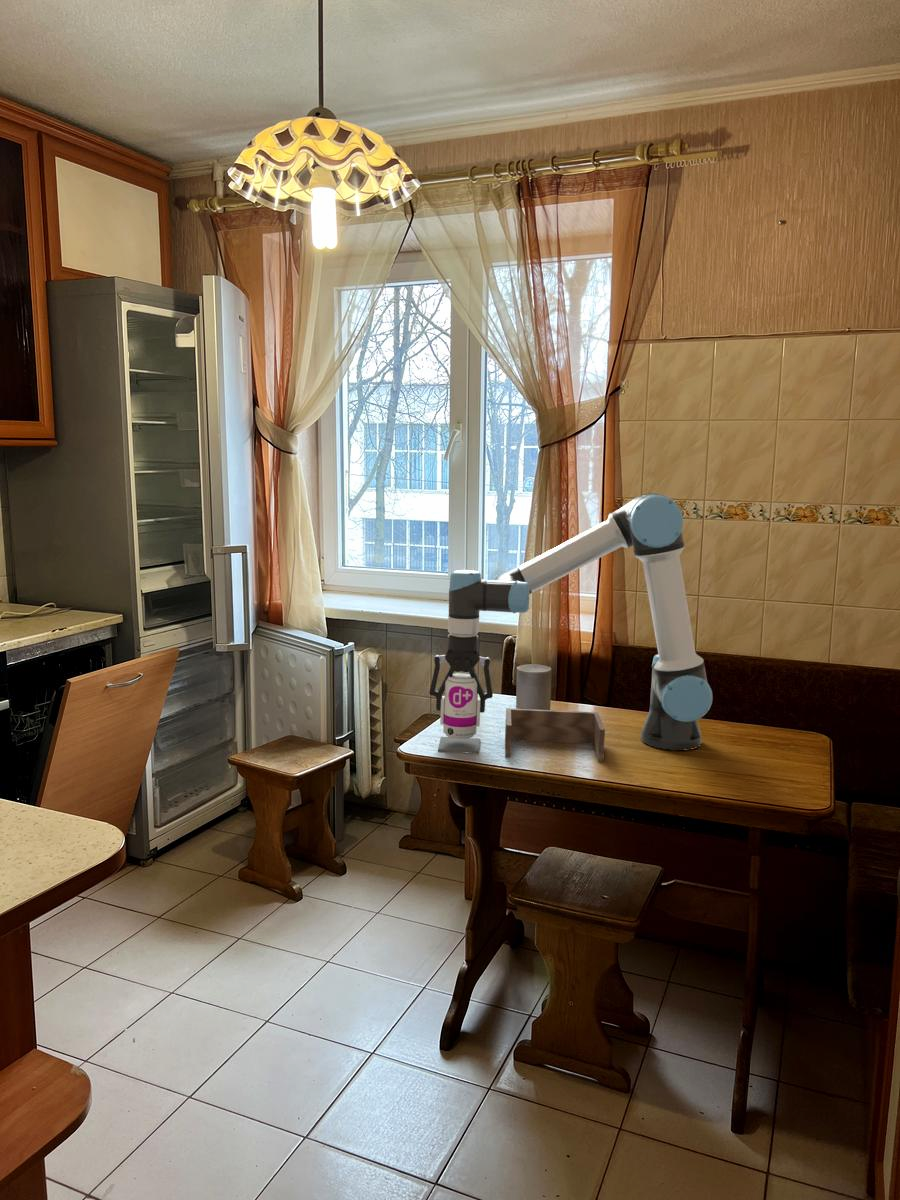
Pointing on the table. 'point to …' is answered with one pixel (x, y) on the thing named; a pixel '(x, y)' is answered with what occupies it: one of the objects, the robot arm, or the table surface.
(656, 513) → the robot arm
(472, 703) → the supplement can
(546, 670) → the pillar candle
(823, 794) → the table surface
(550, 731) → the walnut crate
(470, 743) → the rubber mat
